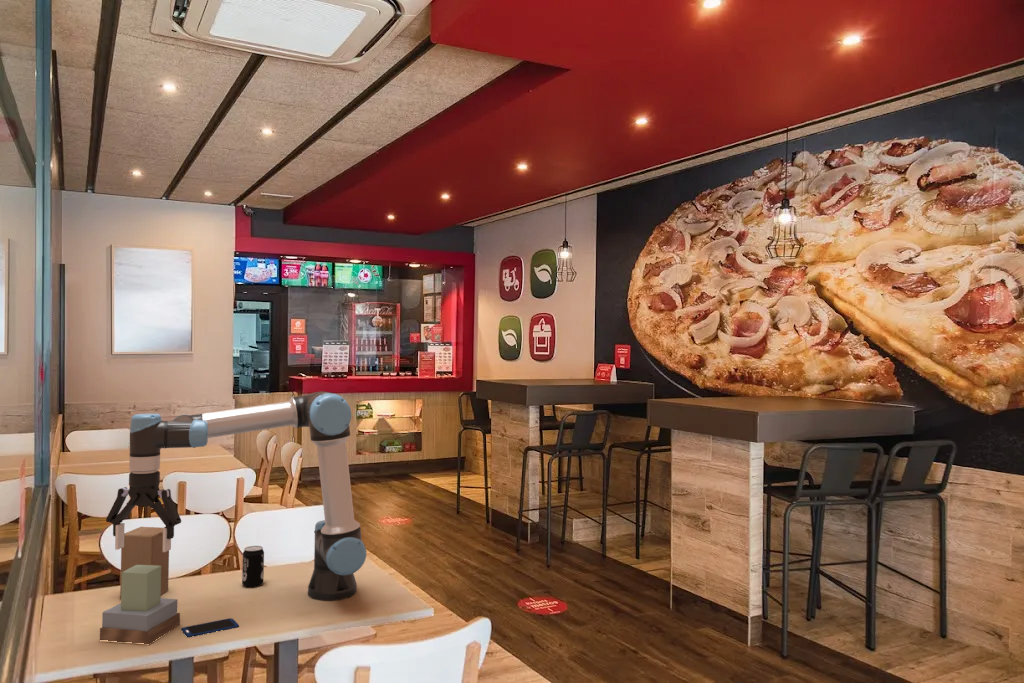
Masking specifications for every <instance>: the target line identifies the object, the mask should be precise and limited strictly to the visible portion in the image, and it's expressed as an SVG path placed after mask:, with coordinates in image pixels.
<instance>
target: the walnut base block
mask: <svg viewBox="0 0 1024 683" xmlns="http://www.w3.org/2000/svg"><path fill="white" fill-rule="evenodd" d="M180 625H181V612H177V614H176V615H174V616H173V617H171V618H169V619H167V620H166V621H164V622H162V623H161V624H159V625H157V626H155V627H154V628H152V629H150V630H148V631H137V630H126V629H114V628H103V627H100V628H99V641H100V640H108V641H117V642H132V643H144V644H150V643H152V642H153V641H155V640H156V639H158V638H159V637H161V636H163V635H164V634H166V633H167V634H169V633H170V632H172V631H173V630H175V629H176V628H178V627H179V626H180ZM174 628H175V629H174ZM171 630H172V631H171ZM169 631H170V632H169ZM168 632H169V633H168ZM167 634H166V635H167ZM164 636H165V635H164ZM164 636H163V637H164ZM161 638H162V637H161ZM158 640H159V639H158ZM155 642H156V641H155ZM153 643H154V642H153ZM153 643H152V644H153ZM150 645H151V644H150Z"/></svg>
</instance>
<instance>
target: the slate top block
mask: <svg viewBox="0 0 1024 683" xmlns="http://www.w3.org/2000/svg"><path fill="white" fill-rule="evenodd" d="M177 613H178V599H176V598H167V597H166V598H164V597H160V603H158V604H157V605H155V606H154V607H152V608H150V609H149V610H147V611H131V610H121V602H120V603H119V604H116V605H115V606H113V607H111V608H108V609H107V610H105V611H104V610H103V612H102V618H101V619H102V621H101V622H102V624H101V626H102V627H103V628H114V629H126V630H137V631H148V630H150V629H152V628H154V627H155V626H157V625H159V624H161V623H162V622H164V621H166V620H167V619H169V618H171V617H173V616H174V615H176V614H177ZM102 627H101V628H102Z"/></svg>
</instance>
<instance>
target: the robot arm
mask: <svg viewBox="0 0 1024 683" xmlns="http://www.w3.org/2000/svg"><path fill="white" fill-rule="evenodd" d="M351 409H352V408H351V406H350V404H349V403H348V402H347V400H346V399H345V398H344V397H343V396H341V395H339V394H337V393H333V392H329V391H322V390H321V391H317V392H313V393H308V394H303V395H299V396H292V397H291V398H289V400H287V401H280V402H272V403H266V404H259V405H252V406H245V407H244V406H243V407H238V408H231V409H224V410H218V411H217V410H216V411H211V412H202V413H197V414H181V415H178V416H177V417H175V418H173V419H172V420H162V415H161V414H160V413H150V412H149V413H137V414H134V415H132V416H131V418H130V426H129V457H128V458H129V463H128V470H129V471H130V472H129V474H128V485H129V488H128V487H127V486H125V487H121V488H118V490H117V494H116V499H114V500H115V501H114V502H113V505H112V506H111V508H110V511H109V513H108V514H107V517H106V519H105V521H106V523H110V524H112V536H113V537H115V544H114V545H115V547H114V549H115V550H117V551H118V550H120V549H121V548H123V547H124V533H125V523H124V522H123V520H124V519H126V517H127V516H128V515H129V514H130V513H131V511H133V509H134V508H135V507H141V506H143V507H150V509H152V510H153V511H154V512H155V514H156V515H157V516H158V518H159V519H160V520H161V522H162V523H163V524H164V525H165V526H164V527H162V528H163V552H167V551H169V552H170V551H171V550H172V539H173V538H174V537H175V526H177V525H179V524H181V523H182V519H181V517H180V514H179V512H178V509H177V507H176V505H175V503H174V501H173V498H172V492H171V489H170V488H167V489H164V490H160V484H161V483H160V482H161V471H160V469H161V449H177V448H178V449H180V448H183V449H185V448H187V449H188V448H189V449H190V448H191V449H195V448H201V447H206V446H207V445H208V440H209V438H210V439H211V438H216V437H223V436H230V435H238V434H243V433H244V434H245V433H251V432H256V431H263V430H270V429H277V428H284V427H290V426H292V427H293V428H295V429H298V428H309V436H310V442H312V443H313V444H314V445H315V446H316V452H317V460H318V462H317V463H318V467H319V470H318V471H319V480H320V488H321V495H322V504H323V505H322V506H323V514H324V520H319V521H317V522H316V523H315V525H314V531H313V532H314V554H313V555H314V557H313V559H314V561H313V563H314V566H313V568H314V569H313V572H312V575H311V577H310V580H309V583H308V586H307V595H308V597H310V598H311V597H312V599H315V600H320V601H321V600H322V601H337V600H338V601H339V600H342V599H347V598H350V597H353V596H355V594H356V593H357V590H358V589H357V587H358V585H357V581H356V577H355V573H357V572H358V571H359V570H360V569H361V568H362V567H363V565H364V564H365V562H366V559H367V549H366V545H365V544H364V543H365V542H363V539H362V538H363V537H362V531H361V523H360V522H359V521H357V520H355V513H354V504H353V502H354V501H353V495H352V486H351V485H352V484H351V477H350V468H349V456H348V448H347V441H348V440H349V438H350V437H351V428H350V424H351V421H352V410H351ZM128 496H129V498H130V499H129V500H128V501H127V502H126V504H125V506H124V507H123V505H124V503H125V501H126V499H127V497H128ZM160 499H161V500H160ZM162 503H163V504H162ZM122 507H123V508H122ZM121 509H122V510H121Z"/></svg>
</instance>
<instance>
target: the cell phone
mask: <svg viewBox="0 0 1024 683" xmlns="http://www.w3.org/2000/svg"><path fill="white" fill-rule="evenodd" d="M239 627H240V625H239V623H238V622H237V621H236V620H235V619H234V618H231V617H229V618H225V619H218V620H214V621H209V622H205V623H204V622H203V623H198V624H194V625H189V626H184V627H183V626H182V627H181V629H180V630H182V631H183V632H182V631H181V632H182V634H183V635H184V634H185V635H186V636H187V637H186V636H185V635H184V636H185V637H186V638H193V637H192V636H194V637H199V636H203V634H204V635H208V634H207V633H209V634H212V633H213V634H214V633H217V632H216V631H218V632H222V631H221V630H223V631H227V630H231V629H232V628H233V629H237V628H239ZM198 635H199V636H198Z"/></svg>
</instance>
